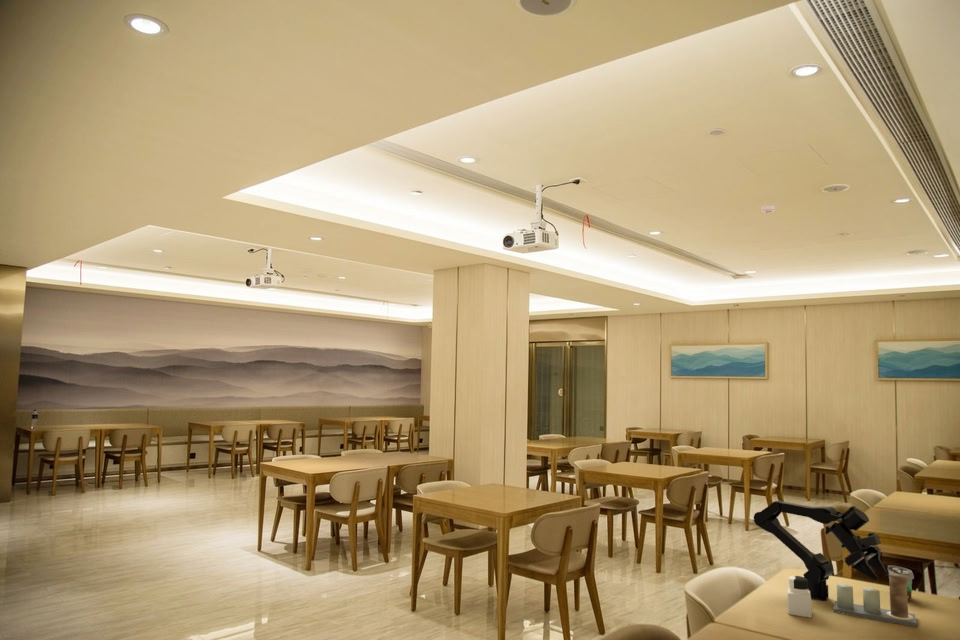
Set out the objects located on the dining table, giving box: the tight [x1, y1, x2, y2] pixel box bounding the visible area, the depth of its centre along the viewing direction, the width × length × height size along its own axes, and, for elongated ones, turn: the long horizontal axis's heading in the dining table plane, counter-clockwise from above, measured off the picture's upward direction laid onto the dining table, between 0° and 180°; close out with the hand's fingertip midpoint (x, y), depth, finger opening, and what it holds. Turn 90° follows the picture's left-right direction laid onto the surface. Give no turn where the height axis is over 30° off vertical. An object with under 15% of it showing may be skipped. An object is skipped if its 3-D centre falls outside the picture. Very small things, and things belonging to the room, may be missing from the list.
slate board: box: [832, 600, 918, 628], centre depth 219 cm, size 24×10×1 cm, turn 58°
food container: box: [887, 564, 915, 601], centre depth 240 cm, size 12×6×10 cm, turn 168°
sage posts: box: [836, 583, 881, 614], centre depth 222 cm, size 13×5×7 cm, turn 58°
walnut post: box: [888, 573, 909, 618], centre depth 216 cm, size 5×5×13 cm
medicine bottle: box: [786, 575, 813, 618], centre depth 220 cm, size 7×7×12 cm
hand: (881, 577), depth 221 cm, fingers open, 9 cm apart
